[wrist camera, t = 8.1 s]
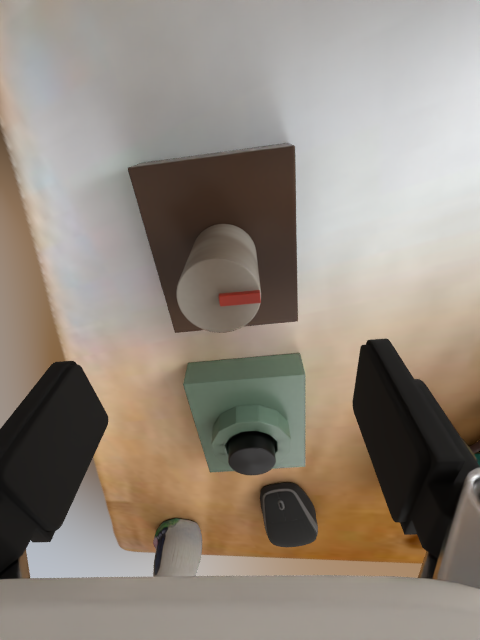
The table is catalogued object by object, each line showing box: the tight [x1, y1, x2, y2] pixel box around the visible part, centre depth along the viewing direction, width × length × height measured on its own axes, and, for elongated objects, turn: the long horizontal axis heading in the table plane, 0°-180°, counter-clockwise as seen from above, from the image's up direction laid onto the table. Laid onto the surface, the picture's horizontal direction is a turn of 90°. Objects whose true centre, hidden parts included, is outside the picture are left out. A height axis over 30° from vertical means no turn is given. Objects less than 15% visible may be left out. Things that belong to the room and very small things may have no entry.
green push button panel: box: [183, 353, 305, 472], centre depth 28 cm, size 13×10×4 cm
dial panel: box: [128, 143, 298, 333], centre depth 20 cm, size 11×9×2 cm
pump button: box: [228, 431, 276, 475], centre depth 26 cm, size 4×4×2 cm
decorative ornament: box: [153, 518, 202, 577], centre depth 38 cm, size 9×7×15 cm
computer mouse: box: [260, 483, 318, 547], centre depth 39 cm, size 7×12×4 cm, turn 17°
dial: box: [177, 224, 261, 333], centre depth 16 cm, size 4×4×6 cm
